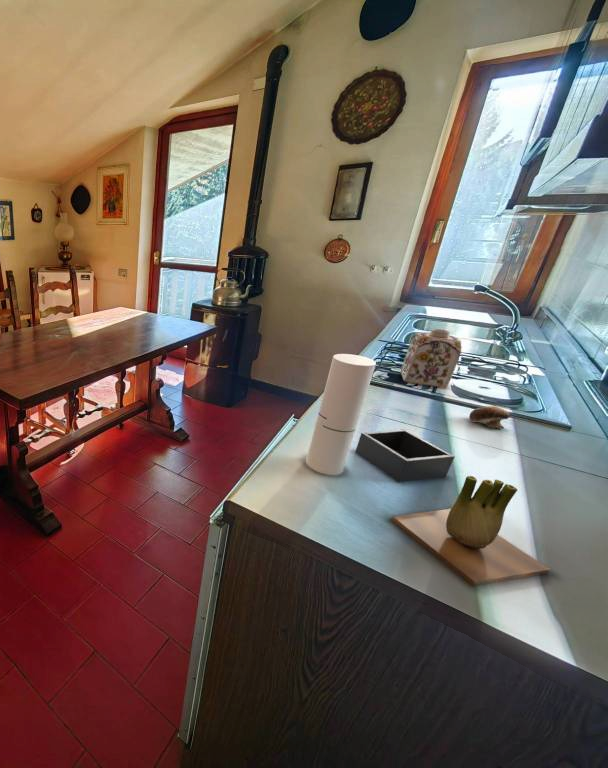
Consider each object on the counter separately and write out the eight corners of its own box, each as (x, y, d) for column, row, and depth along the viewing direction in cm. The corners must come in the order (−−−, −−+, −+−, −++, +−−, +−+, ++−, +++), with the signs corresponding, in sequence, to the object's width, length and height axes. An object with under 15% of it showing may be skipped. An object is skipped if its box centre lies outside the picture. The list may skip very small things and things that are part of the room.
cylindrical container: (326, 456, 89) (355, 353, 80) (350, 475, 83) (385, 364, 73) (298, 459, 88) (325, 354, 78) (320, 478, 82) (352, 366, 72)
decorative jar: (447, 390, 127) (468, 337, 121) (403, 382, 133) (421, 331, 126) (439, 378, 137) (459, 329, 130) (399, 372, 142) (415, 324, 136)
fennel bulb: (437, 535, 65) (464, 475, 61) (448, 523, 68) (475, 466, 63) (482, 558, 61) (515, 496, 56) (492, 545, 63) (525, 484, 59)
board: (454, 513, 72) (457, 507, 72) (547, 575, 60) (550, 569, 59) (390, 521, 70) (392, 515, 69) (471, 587, 57) (475, 581, 57)
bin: (397, 449, 93) (404, 429, 90) (445, 478, 82) (454, 456, 80) (354, 453, 91) (361, 432, 89) (398, 484, 80) (407, 461, 78)
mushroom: (521, 426, 98) (512, 401, 99) (480, 431, 101) (471, 407, 103) (507, 428, 105) (499, 405, 106) (469, 432, 108) (461, 410, 110)
